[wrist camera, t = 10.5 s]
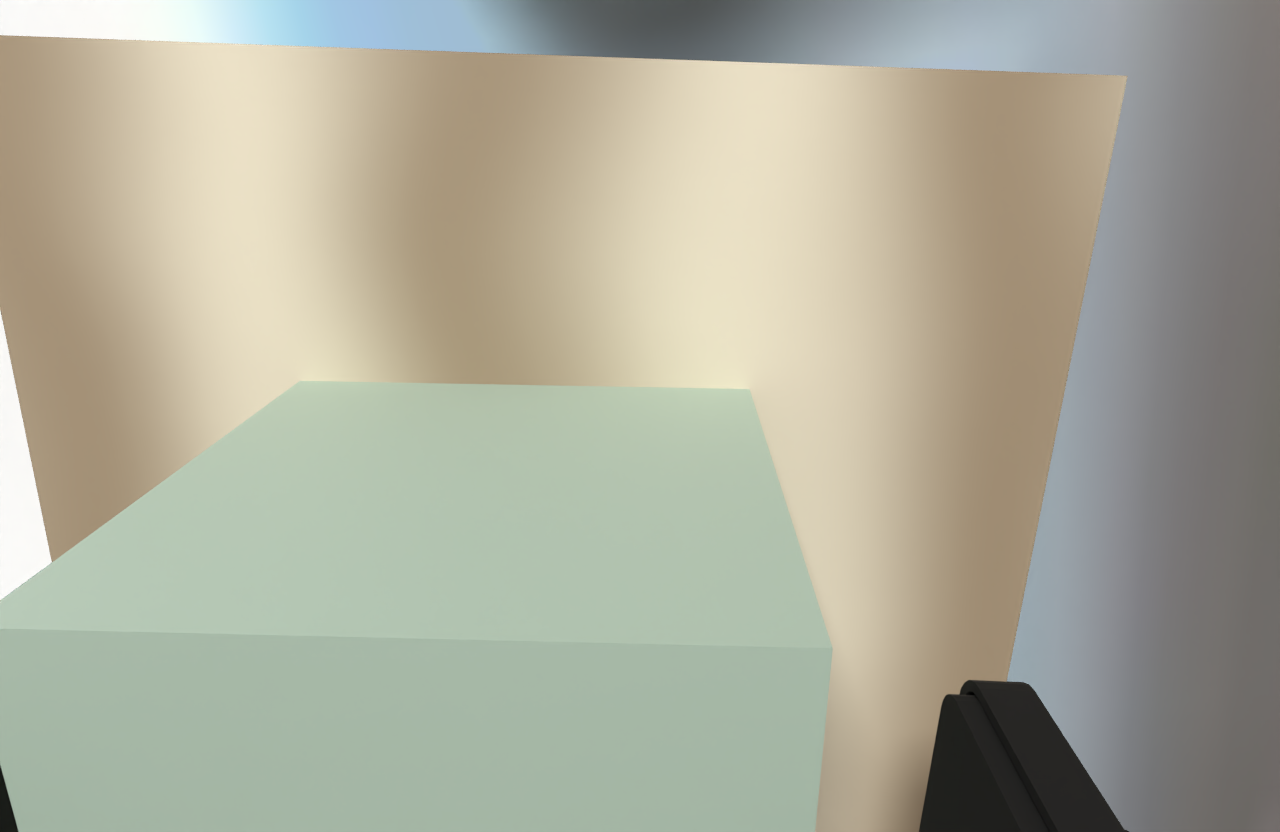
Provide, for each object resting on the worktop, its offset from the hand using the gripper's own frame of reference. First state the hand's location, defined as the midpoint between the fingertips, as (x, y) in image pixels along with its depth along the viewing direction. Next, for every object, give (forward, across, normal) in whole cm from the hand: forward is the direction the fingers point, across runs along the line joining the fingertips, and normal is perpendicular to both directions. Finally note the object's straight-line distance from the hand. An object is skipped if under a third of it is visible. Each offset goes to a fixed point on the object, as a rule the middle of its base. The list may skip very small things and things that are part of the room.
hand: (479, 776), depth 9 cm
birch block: (+8, 0, 0) cm, 8 cm away
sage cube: (+4, 0, 0) cm, 4 cm away
